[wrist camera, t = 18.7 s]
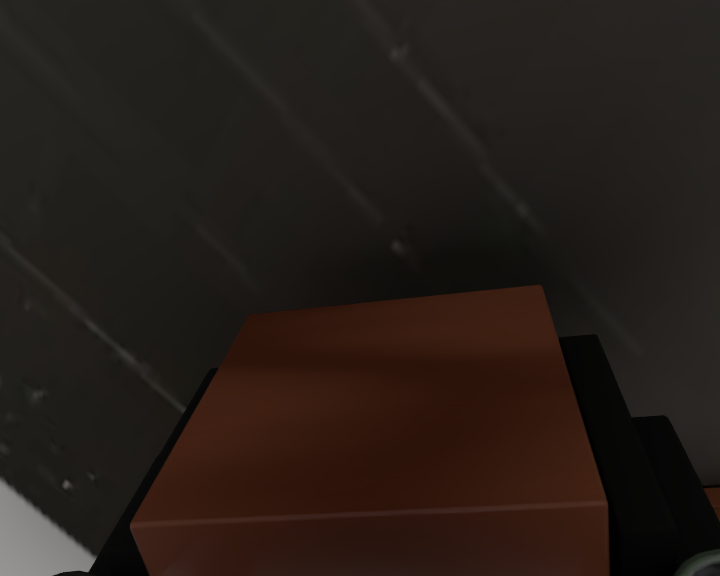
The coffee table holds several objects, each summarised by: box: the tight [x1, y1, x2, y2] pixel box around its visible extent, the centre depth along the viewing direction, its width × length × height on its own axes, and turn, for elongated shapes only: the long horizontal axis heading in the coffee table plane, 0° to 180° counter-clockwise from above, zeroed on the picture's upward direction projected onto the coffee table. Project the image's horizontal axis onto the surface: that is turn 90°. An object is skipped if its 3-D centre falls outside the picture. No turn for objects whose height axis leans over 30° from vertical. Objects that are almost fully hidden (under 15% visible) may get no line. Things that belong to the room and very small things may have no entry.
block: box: [130, 285, 610, 576], centre depth 9 cm, size 4×4×4 cm
